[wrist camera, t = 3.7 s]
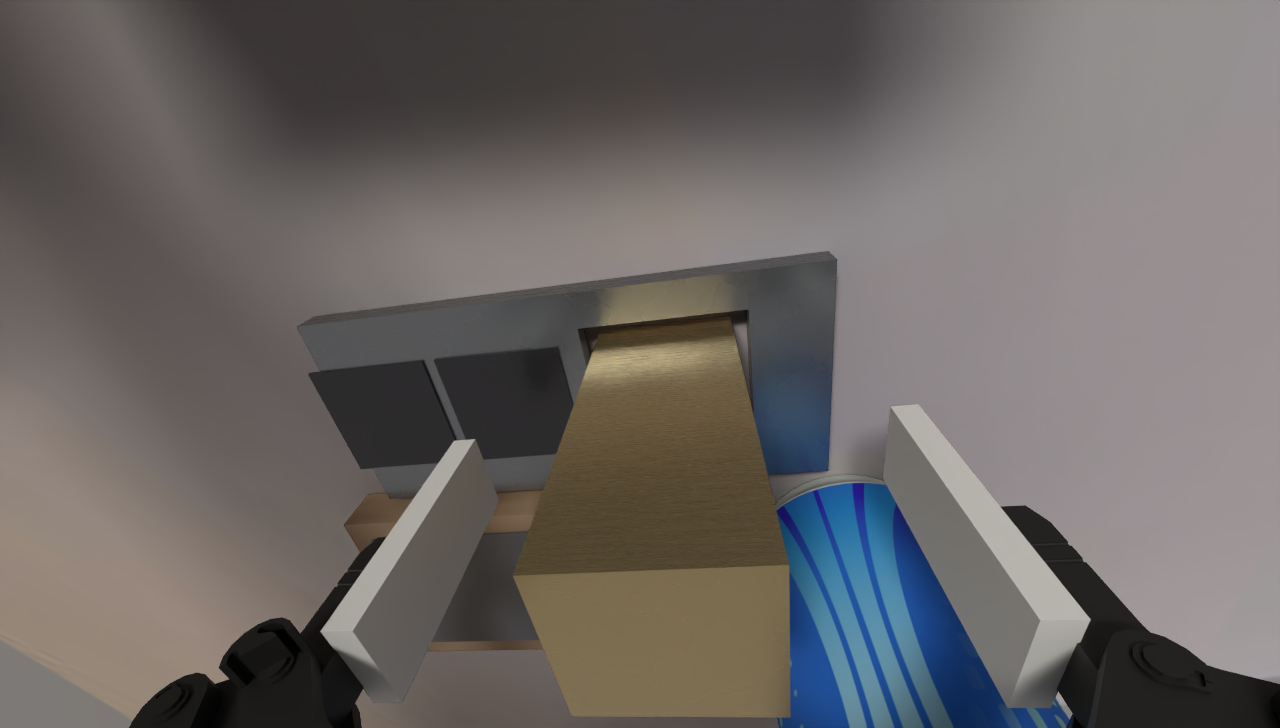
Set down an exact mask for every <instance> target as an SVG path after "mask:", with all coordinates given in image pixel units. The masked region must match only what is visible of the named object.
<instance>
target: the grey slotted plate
mask: <svg viewBox="0 0 1280 728" xmlns="http://www.w3.org/2000/svg"><path fill="white" fill-rule="evenodd" d="M836 275H837V259H836V258H835V257H834V256H833V255H832V254H831V253H830V252H829V251H827V252H819V253H811V254H803V255H795V256H787V257H780V258H772V259H764V260H756V261H748V262H740V263H732V264H725V265H717V266H709V267H701V268H693V269H685V270H677V271H670V272H662V273H654V274H646V275H638V276H630V277H622V278H615V279H607V280H599V281H591V282H583V283H575V284H568V285H560V286H552V287H544V288H536V289H528V290H520V291H513V292H505V293H497V294H489V295H481V296H473V297H465V298H458V299H450V300H442V301H434V302H426V303H418V304H410V305H403V306H395V307H387V308H379V309H371V310H363V311H356V312H348V313H340V314H332V315H324V316H316V317H313V318H311V319H309V320H308V321H306V322H304V323H302V324H301V325H299V326H297V329H298V331H299V333H300V334H301V336H302V338H303V340H304V342H305V344H306V346H307V347H308V349H309V351H310V353H311V355H312V357H313V358H314V360H315V362H316V364H317V366H318V368H319V369H320V371H321V372H313V373H309V374H308V375H309V377H310V378H311V380H312V382H313V384H314V386H315V387H316V389H317V391H318V393H319V395H320V396H321V398H322V400H323V402H324V404H325V405H326V407H327V409H328V411H329V413H330V414H331V416H332V418H333V420H334V421H335V423H336V425H337V427H338V429H339V430H340V432H341V434H342V436H343V438H344V439H345V441H346V443H347V445H348V447H349V448H350V450H351V452H352V454H353V456H354V457H355V459H356V461H357V463H358V464H359V466H360V468H361V469H367V468H373V469H374V471H375V473H376V475H377V476H378V478H379V480H380V482H381V484H382V486H383V487H384V489H385V491H386V493H387V495H388V497H389V499H400V498H414V497H415V496H416V494H417V493H418V492H419V490H420V489H421V487H422V486H423V484H424V483H425V482H426V480H427V479H428V477H429V476H430V474H431V473H432V472H433V470H434V469H435V467H436V466H437V464H438V463H439V462H440V460H441V459H442V457H443V456H444V455H445V453H446V452H447V450H448V449H449V447H450V446H451V445H452V443H453V442H454V441H457V440H470V439H475V440H476V442H477V445H478V447H479V450H480V452H481V455H482V458H483V460H484V463H485V465H486V468H487V470H488V473H489V476H490V478H491V481H492V483H493V486H494V489H495V491H496V492H507V491H523V490H538V489H544V487H545V484H546V481H547V478H548V476H549V473H550V470H551V467H552V464H553V462H554V459H555V456H556V453H557V450H558V448H559V445H560V442H561V439H562V436H563V434H564V431H565V428H566V425H567V422H568V420H569V417H570V414H571V411H572V408H573V406H574V403H575V400H576V397H577V394H578V392H579V389H580V386H581V383H582V380H583V378H584V375H585V372H586V369H587V366H588V364H589V361H590V358H591V354H590V350H589V346H588V341H587V337H586V332H585V328H589V327H598V326H607V325H615V324H624V323H633V322H642V321H651V320H659V319H668V318H677V317H686V316H695V315H704V314H712V313H721V312H730V311H739V310H746V321H747V340H748V359H749V378H750V397H751V407H752V411H753V415H754V419H755V423H756V427H757V432H758V436H759V440H760V444H761V448H762V453H763V457H764V461H765V465H766V469H767V474H784V473H799V472H814V471H828V462H829V438H830V415H831V392H832V368H833V345H834V322H835V298H836Z"/></svg>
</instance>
